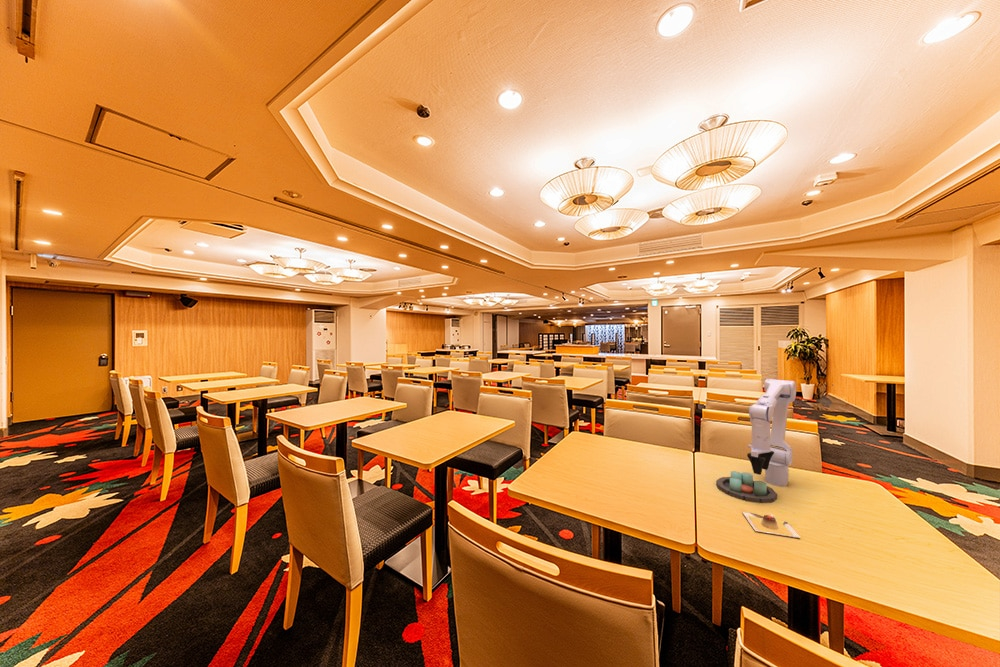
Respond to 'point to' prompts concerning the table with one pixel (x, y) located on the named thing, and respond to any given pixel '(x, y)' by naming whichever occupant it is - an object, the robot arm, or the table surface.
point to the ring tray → (743, 496)
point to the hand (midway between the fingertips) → (760, 471)
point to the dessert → (770, 524)
